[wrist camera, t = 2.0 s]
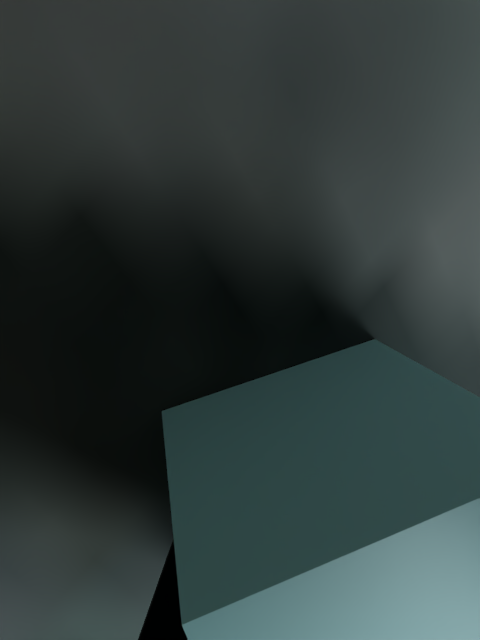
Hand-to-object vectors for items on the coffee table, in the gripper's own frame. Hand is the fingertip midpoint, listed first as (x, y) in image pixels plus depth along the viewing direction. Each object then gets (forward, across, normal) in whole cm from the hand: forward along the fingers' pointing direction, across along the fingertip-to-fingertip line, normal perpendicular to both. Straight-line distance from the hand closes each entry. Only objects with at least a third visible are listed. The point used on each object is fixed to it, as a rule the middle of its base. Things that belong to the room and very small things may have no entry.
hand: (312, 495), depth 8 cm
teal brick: (+1, 0, 0) cm, 1 cm away
